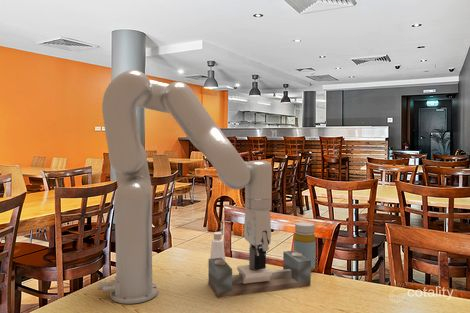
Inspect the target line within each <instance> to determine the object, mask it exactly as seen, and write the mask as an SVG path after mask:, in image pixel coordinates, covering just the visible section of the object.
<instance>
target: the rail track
mask: <svg viewBox="0 0 470 313" xmlns="http://www.w3.org/2000/svg"><path fill="white" fill-rule="evenodd" d="M282 261H283V262H282V265H283V266H282V269H276V270H271V271H272V276H270V281H262V282H254V283H246V284H243V283H242V277H243V276H242V274H239V273H238V274H233V269H232V267H231V266H230V265H229V264H228V263H227V262H226V260H225V261H224V260H223V258H213V259H210V258H208V286H209V287H210V288H211V290H212V292H213V293H214V295H215V297H217V299H220V298H222V299H223V298H228V297H229V298H230V297H236V296H237V297H238V296H243V295H252V294H258V293H259V294H260V293H266V292H267V293H268V292H274V291H282V290H289V289H296V288H304V287H311V286H312V285H311V284H312V283H311V278H312V277H311V276H312V274H311V273H312V272H311V260H309V259H308V258H306V257H305V256H303V255H302V254H301V253H298V252H297V251H294V250H287V251H283V258H282Z"/></svg>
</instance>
